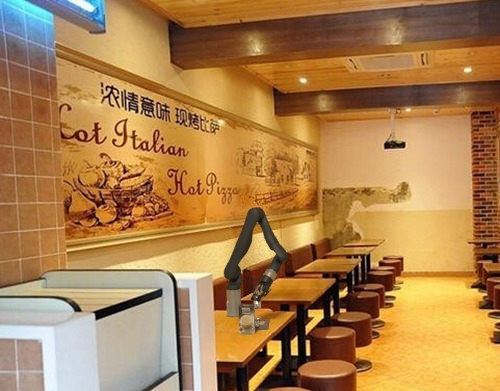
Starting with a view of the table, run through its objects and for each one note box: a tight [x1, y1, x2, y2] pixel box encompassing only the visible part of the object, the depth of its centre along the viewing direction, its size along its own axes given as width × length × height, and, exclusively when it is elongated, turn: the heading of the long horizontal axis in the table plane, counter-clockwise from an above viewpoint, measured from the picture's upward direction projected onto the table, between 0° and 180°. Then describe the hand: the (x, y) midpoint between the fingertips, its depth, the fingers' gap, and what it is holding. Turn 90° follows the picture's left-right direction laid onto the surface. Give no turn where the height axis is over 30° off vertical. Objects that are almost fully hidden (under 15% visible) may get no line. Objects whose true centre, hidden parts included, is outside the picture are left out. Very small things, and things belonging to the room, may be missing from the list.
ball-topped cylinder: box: [252, 294, 262, 310], centre depth 352 cm, size 4×4×8 cm
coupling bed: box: [255, 315, 270, 331], centre depth 352 cm, size 13×24×3 cm, turn 176°
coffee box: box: [238, 303, 256, 335], centre depth 333 cm, size 9×6×16 cm
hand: (254, 300), depth 351 cm, fingers closed on ball-topped cylinder, 4 cm apart
